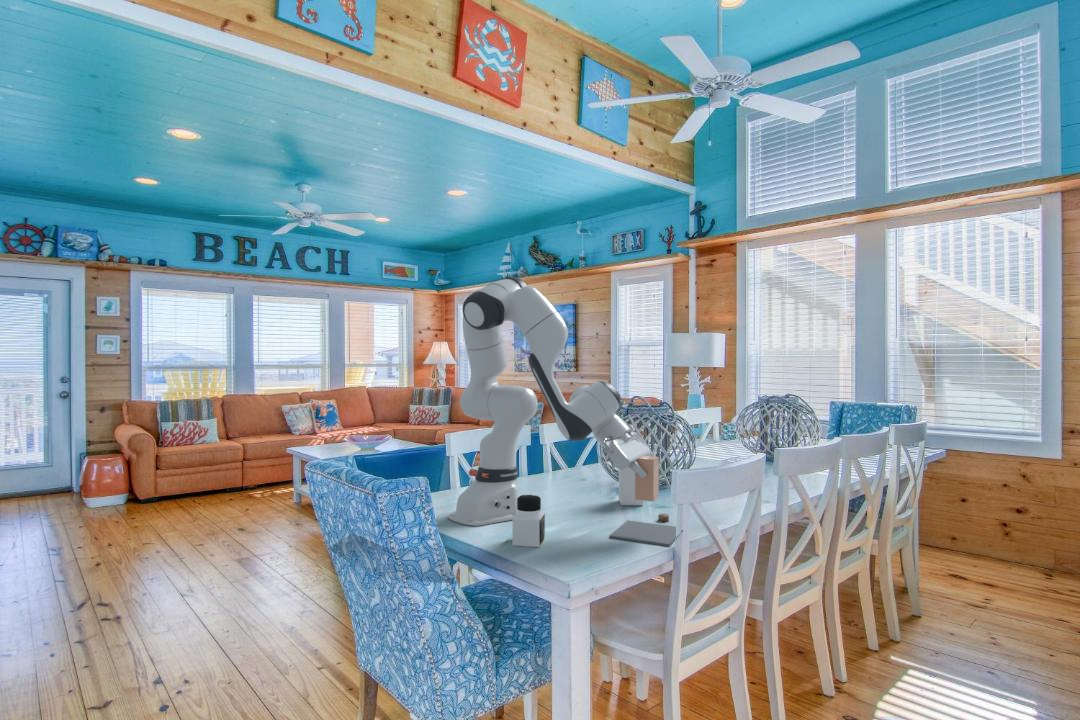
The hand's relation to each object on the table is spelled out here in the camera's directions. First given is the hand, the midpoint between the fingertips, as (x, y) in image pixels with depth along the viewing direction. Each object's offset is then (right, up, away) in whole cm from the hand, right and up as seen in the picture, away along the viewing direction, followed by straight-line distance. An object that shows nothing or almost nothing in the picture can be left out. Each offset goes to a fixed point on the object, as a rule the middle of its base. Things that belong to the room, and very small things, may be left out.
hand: (649, 474), depth 158 cm
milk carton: (0, -16, +34) cm, 38 cm away
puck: (+7, -16, +14) cm, 22 cm away
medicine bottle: (-32, -16, -7) cm, 37 cm away
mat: (0, -16, +1) cm, 16 cm away
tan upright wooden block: (-1, -6, 0) cm, 7 cm away
